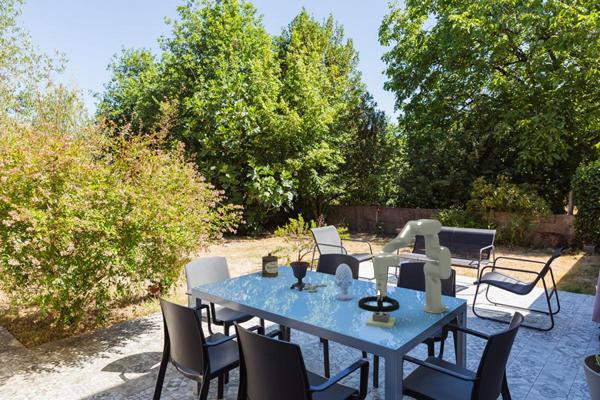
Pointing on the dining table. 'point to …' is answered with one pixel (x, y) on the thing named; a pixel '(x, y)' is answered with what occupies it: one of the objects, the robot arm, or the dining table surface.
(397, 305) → the cable lock
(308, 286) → the pulley system
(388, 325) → the keeper board
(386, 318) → the grey rectangular frame
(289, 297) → the dining table surface
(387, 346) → the dining table surface
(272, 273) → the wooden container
